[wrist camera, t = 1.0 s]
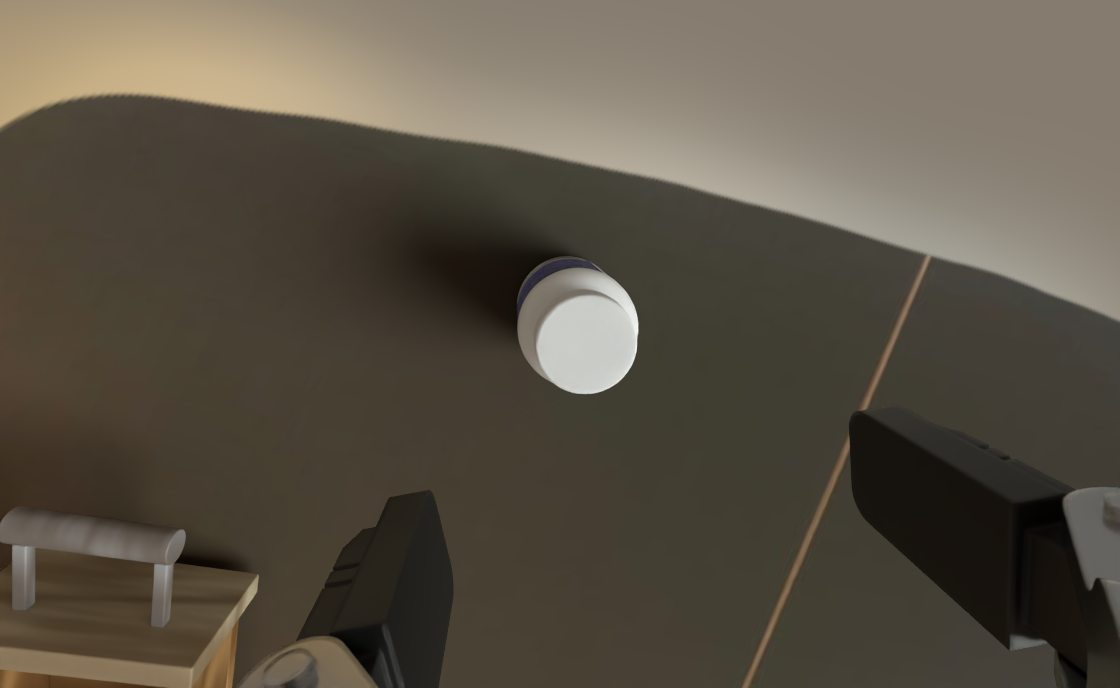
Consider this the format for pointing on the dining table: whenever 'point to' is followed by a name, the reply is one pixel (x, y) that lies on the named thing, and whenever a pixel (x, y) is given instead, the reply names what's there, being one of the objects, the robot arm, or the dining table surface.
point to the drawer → (113, 606)
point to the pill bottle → (576, 325)
